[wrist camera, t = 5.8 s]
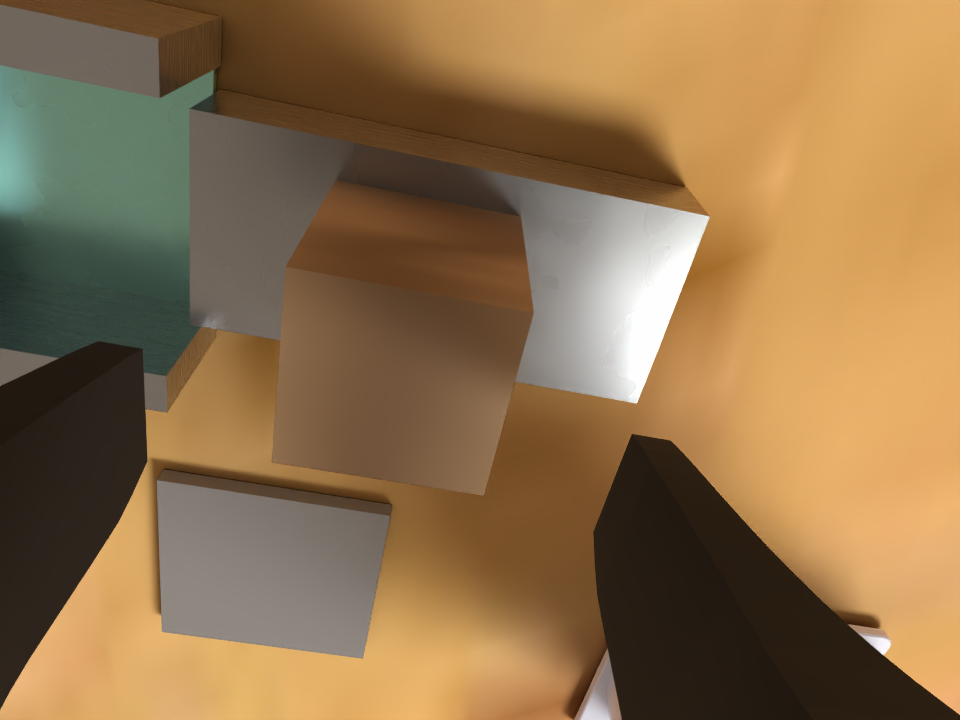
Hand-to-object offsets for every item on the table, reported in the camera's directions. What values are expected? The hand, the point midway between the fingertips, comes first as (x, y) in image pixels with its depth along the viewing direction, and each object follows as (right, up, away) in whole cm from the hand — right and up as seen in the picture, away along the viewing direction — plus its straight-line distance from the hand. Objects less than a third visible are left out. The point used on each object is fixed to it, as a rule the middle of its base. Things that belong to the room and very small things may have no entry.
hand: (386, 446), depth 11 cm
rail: (-3, +5, +7) cm, 9 cm away
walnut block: (0, +3, +6) cm, 6 cm away
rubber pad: (-6, -6, +13) cm, 15 cm away
